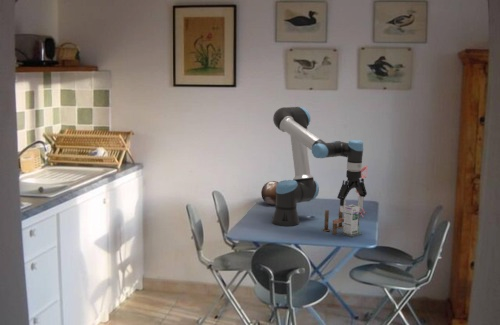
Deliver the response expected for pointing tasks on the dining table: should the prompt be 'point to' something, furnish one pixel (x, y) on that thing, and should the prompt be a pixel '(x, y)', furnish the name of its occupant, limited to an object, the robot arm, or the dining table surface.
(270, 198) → the wooden sphere
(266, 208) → the dining table surface
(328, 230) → the wooden frame
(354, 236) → the pad
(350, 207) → the syrup box
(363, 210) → the figurine
